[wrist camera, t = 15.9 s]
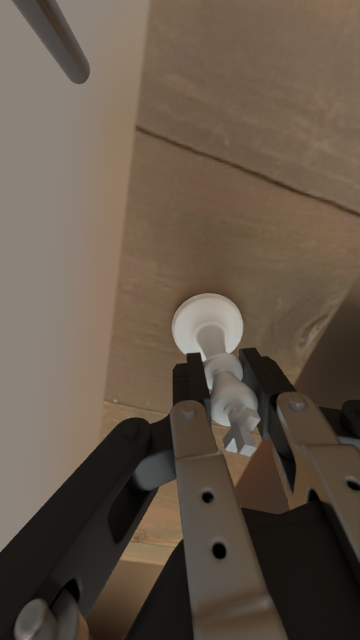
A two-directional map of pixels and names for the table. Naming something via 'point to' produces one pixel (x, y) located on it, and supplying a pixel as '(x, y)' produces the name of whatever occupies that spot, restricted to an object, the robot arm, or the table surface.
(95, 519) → the robot arm
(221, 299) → the chess piece
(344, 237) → the table surface
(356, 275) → the table surface
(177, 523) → the table surface
